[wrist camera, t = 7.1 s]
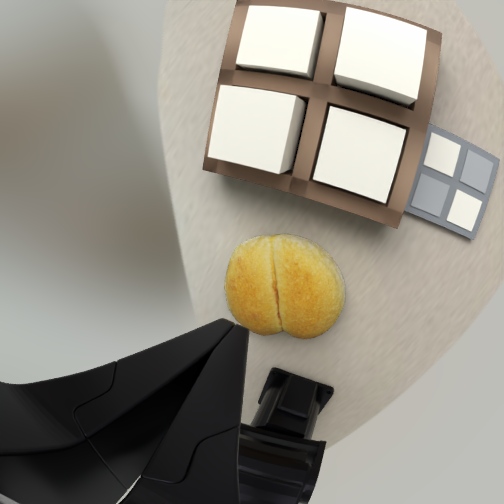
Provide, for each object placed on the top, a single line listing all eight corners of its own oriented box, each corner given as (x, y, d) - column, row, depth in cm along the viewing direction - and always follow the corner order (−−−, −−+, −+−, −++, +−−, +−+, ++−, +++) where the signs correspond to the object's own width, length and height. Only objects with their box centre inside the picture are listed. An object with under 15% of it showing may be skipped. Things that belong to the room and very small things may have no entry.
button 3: (291, 168, 17) (279, 174, 14) (230, 153, 18) (207, 156, 15) (306, 103, 15) (296, 95, 12) (241, 91, 16) (220, 84, 13)
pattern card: (471, 238, 15) (473, 240, 15) (400, 208, 16) (401, 210, 16) (497, 158, 12) (500, 159, 12) (424, 122, 14) (426, 121, 13)
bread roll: (343, 328, 22) (338, 362, 18) (241, 318, 25) (222, 346, 21) (348, 230, 19) (345, 252, 15) (228, 228, 22) (203, 247, 18)
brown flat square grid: (392, 217, 17) (397, 229, 15) (219, 165, 20) (202, 169, 18) (432, 45, 11) (441, 33, 9) (252, 8, 14) (238, -6, 12)
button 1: (381, 193, 16) (385, 203, 14) (319, 173, 17) (312, 179, 15) (397, 132, 15) (406, 130, 12) (334, 111, 16) (330, 106, 13)
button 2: (406, 106, 13) (416, 99, 10) (338, 85, 14) (334, 73, 11) (416, 46, 11) (426, 30, 8) (349, 26, 12) (346, 6, 9)
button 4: (314, 83, 15) (306, 72, 13) (253, 73, 16) (235, 63, 14) (325, 29, 13) (319, 11, 11) (265, 21, 14) (249, 5, 12)
